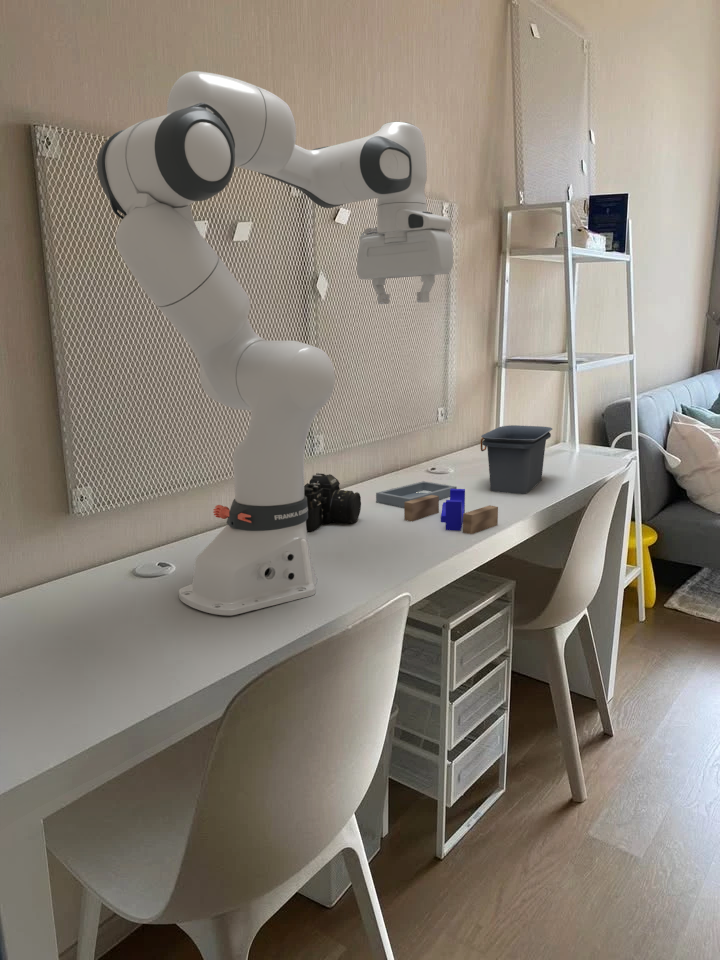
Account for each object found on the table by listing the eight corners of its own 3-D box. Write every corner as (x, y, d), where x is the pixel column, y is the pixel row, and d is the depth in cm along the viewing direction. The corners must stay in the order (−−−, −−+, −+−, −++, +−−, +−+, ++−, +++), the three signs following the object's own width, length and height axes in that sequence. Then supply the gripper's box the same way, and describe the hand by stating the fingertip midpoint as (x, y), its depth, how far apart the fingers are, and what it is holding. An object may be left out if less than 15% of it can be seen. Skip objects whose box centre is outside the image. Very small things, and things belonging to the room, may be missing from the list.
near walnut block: (471, 535, 145) (471, 515, 145) (462, 533, 147) (463, 513, 146) (497, 526, 152) (498, 506, 151) (489, 524, 153) (489, 505, 152)
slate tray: (409, 510, 165) (409, 499, 164) (376, 503, 172) (376, 492, 171) (456, 497, 177) (456, 486, 176) (423, 491, 184) (423, 481, 183)
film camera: (362, 532, 148) (361, 483, 146) (299, 534, 148) (297, 484, 146) (360, 511, 166) (359, 466, 164) (304, 512, 166) (303, 467, 164)
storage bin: (533, 500, 172) (535, 438, 170) (468, 494, 179) (469, 435, 176) (553, 482, 191) (555, 427, 188) (494, 478, 198) (495, 424, 195)
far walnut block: (411, 522, 156) (411, 503, 155) (404, 520, 157) (404, 502, 156) (438, 514, 162) (438, 496, 161) (431, 512, 163) (431, 494, 163)
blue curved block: (443, 515, 161) (443, 488, 159) (464, 516, 160) (465, 489, 158) (437, 530, 149) (438, 501, 148) (460, 531, 148) (461, 502, 147)
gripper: (348, 228, 139) (350, 305, 142) (435, 215, 125) (435, 301, 128) (371, 230, 143) (372, 304, 146) (458, 218, 129) (458, 301, 132)
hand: (402, 303), depth 137 cm, fingers open, 8 cm apart
